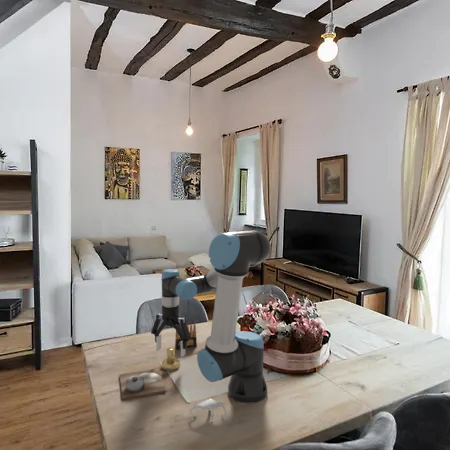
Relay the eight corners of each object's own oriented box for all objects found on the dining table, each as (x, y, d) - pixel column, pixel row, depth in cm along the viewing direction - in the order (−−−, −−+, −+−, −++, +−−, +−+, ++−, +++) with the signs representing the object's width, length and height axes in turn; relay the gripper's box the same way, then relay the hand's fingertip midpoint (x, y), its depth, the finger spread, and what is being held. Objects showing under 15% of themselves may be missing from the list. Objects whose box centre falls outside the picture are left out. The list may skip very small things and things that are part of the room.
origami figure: (219, 406, 131) (219, 393, 131) (227, 420, 124) (227, 406, 123) (187, 413, 127) (187, 399, 127) (193, 427, 119) (193, 413, 119)
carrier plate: (165, 392, 140) (165, 380, 139) (122, 400, 134) (122, 387, 134) (158, 370, 157) (157, 359, 156) (119, 376, 151) (119, 365, 151)
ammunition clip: (195, 345, 183) (195, 322, 182) (196, 346, 181) (196, 323, 180) (175, 348, 179) (174, 324, 178) (175, 349, 178) (175, 326, 176)
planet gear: (181, 369, 158) (181, 351, 157) (163, 372, 156) (163, 354, 155) (177, 361, 166) (177, 344, 165) (160, 363, 163) (160, 346, 162)
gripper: (199, 306, 156) (198, 354, 158) (153, 298, 166) (153, 344, 169) (190, 311, 149) (190, 361, 151) (142, 303, 160) (143, 350, 162)
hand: (170, 352), depth 160 cm, fingers open, 12 cm apart
